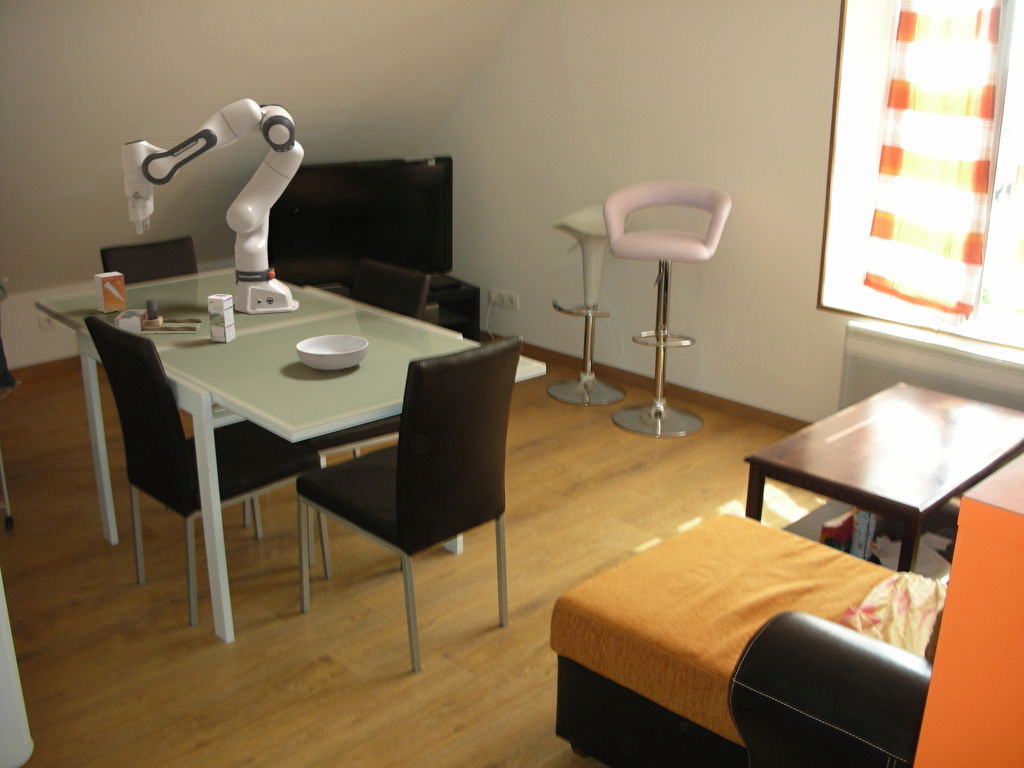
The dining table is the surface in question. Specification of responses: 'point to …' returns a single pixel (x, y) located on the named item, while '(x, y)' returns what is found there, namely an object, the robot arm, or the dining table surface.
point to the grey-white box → (130, 320)
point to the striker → (151, 315)
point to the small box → (110, 291)
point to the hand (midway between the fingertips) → (143, 231)
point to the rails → (176, 328)
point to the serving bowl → (332, 351)
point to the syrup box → (221, 318)
